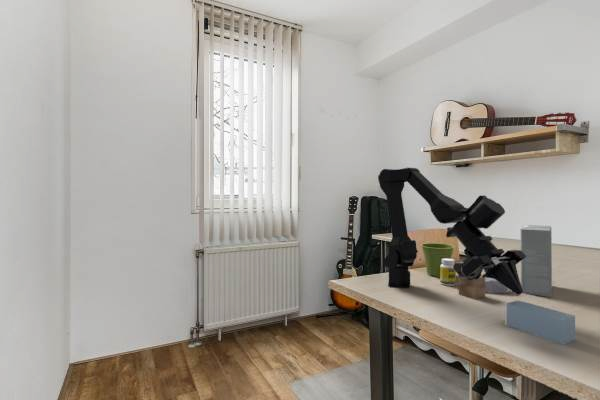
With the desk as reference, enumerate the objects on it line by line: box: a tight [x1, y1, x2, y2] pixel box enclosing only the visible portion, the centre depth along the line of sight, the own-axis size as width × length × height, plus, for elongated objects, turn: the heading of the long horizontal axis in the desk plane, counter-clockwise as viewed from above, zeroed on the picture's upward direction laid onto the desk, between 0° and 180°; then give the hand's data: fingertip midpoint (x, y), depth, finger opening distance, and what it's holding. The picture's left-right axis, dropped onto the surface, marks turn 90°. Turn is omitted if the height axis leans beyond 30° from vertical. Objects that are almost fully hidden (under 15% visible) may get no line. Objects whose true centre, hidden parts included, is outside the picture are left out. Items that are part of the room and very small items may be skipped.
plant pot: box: [420, 242, 456, 278], centre depth 116 cm, size 12×12×11 cm
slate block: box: [504, 299, 576, 346], centre depth 67 cm, size 5×5×11 cm
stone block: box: [481, 273, 509, 294], centre depth 100 cm, size 12×5×10 cm
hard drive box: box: [519, 224, 553, 298], centre depth 98 cm, size 16×8×20 cm, turn 141°
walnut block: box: [458, 276, 486, 300], centre depth 92 cm, size 5×5×6 cm
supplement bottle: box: [439, 258, 457, 287], centre depth 104 cm, size 5×5×8 cm
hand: (520, 293), depth 70 cm, fingers closed
